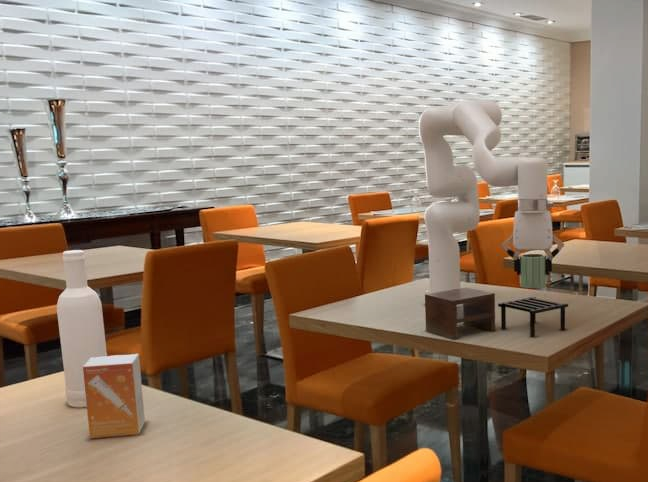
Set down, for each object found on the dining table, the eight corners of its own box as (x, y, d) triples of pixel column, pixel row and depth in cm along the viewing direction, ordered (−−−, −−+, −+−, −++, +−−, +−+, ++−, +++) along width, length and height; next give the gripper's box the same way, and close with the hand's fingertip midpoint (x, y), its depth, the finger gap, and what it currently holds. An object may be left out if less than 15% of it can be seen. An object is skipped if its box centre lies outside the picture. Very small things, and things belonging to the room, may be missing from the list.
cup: (514, 285, 197) (514, 255, 196) (533, 282, 201) (533, 253, 200) (532, 289, 192) (532, 258, 190) (551, 285, 196) (551, 255, 194)
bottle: (67, 410, 143) (49, 255, 138) (67, 399, 150) (49, 250, 145) (113, 403, 147) (97, 251, 142) (110, 392, 154) (95, 247, 149)
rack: (498, 329, 200) (497, 303, 199) (533, 321, 208) (533, 296, 206) (532, 338, 190) (532, 311, 188) (568, 329, 198) (568, 303, 196)
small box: (89, 439, 128) (81, 366, 126) (98, 426, 134) (90, 356, 132) (140, 434, 130) (132, 362, 128) (146, 422, 136) (139, 352, 134)
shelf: (425, 331, 199) (424, 294, 198) (466, 322, 208) (466, 287, 206) (453, 339, 190) (452, 300, 188) (495, 330, 199) (494, 293, 197)
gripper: (566, 204, 196) (566, 271, 199) (499, 205, 198) (500, 272, 201) (567, 206, 188) (567, 276, 191) (497, 207, 190) (498, 276, 193)
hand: (533, 273), depth 196 cm, fingers closed on cup, 7 cm apart
